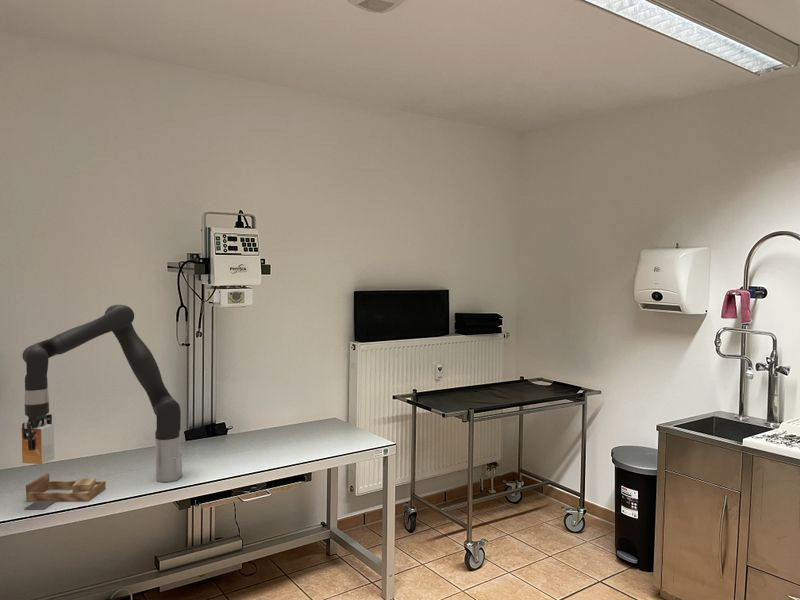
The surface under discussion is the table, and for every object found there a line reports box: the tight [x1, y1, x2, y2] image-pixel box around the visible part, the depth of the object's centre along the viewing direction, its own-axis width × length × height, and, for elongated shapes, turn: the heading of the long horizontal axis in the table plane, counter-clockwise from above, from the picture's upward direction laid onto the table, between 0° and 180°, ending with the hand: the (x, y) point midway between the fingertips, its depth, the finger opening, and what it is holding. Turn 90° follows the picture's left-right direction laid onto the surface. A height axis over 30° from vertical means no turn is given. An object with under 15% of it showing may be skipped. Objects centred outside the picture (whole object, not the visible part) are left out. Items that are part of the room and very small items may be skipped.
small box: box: [21, 423, 55, 465], centre depth 217 cm, size 8×6×13 cm
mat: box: [24, 501, 56, 511], centre depth 218 cm, size 7×7×1 cm
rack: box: [25, 473, 107, 503], centre depth 229 cm, size 23×13×6 cm, turn 90°
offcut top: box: [71, 477, 97, 492], centre depth 229 cm, size 6×7×2 cm
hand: (38, 446), depth 218 cm, fingers closed on small box, 6 cm apart
